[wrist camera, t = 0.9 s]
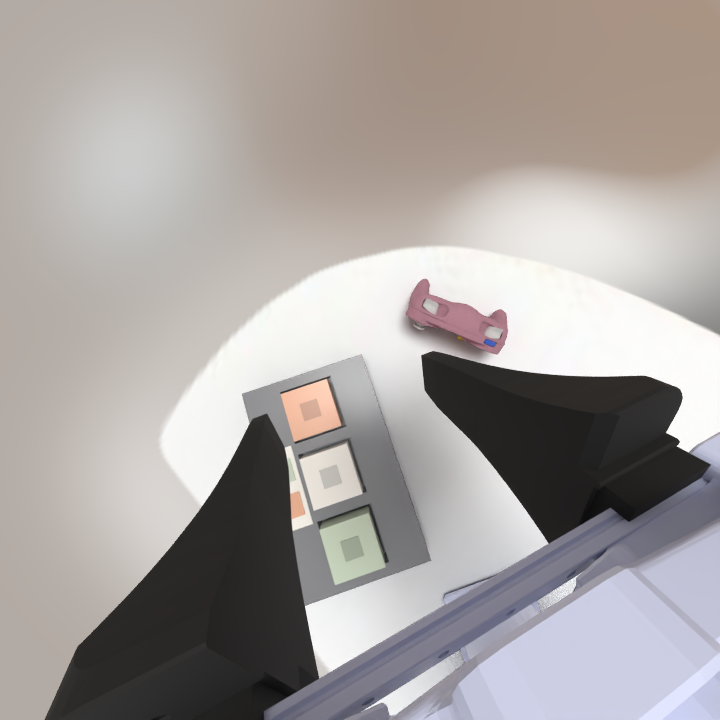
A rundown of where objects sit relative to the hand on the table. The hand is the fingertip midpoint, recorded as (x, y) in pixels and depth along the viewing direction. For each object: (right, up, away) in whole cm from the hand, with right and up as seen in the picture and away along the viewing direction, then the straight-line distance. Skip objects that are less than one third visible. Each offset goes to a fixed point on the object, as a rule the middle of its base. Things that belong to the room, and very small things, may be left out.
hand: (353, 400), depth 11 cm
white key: (-2, -9, +12) cm, 15 cm away
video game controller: (+10, +6, +17) cm, 20 cm away
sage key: (0, -14, +12) cm, 18 cm away
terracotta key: (-4, -3, +13) cm, 14 cm away
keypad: (-2, -9, +14) cm, 17 cm away
